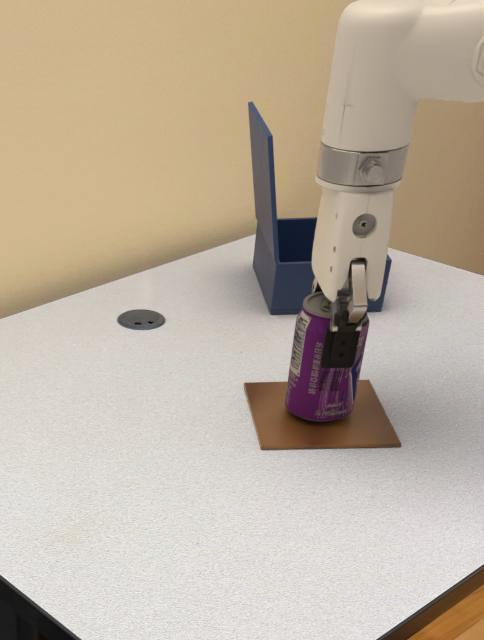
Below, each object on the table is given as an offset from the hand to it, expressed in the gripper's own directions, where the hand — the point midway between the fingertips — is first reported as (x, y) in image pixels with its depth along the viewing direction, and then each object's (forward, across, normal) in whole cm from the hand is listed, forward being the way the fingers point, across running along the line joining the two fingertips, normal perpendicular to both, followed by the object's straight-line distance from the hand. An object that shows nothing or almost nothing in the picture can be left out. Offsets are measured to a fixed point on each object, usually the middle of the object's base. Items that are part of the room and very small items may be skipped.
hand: (328, 348), depth 91 cm
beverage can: (+7, 0, 0) cm, 7 cm away
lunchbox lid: (-7, +35, +2) cm, 36 cm away
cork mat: (+8, 0, 0) cm, 8 cm away
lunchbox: (+8, +35, -6) cm, 36 cm away
